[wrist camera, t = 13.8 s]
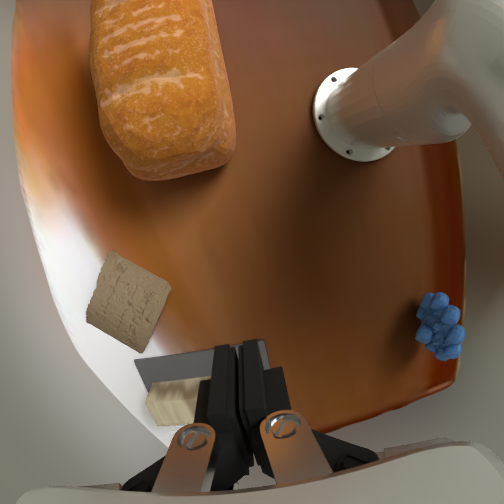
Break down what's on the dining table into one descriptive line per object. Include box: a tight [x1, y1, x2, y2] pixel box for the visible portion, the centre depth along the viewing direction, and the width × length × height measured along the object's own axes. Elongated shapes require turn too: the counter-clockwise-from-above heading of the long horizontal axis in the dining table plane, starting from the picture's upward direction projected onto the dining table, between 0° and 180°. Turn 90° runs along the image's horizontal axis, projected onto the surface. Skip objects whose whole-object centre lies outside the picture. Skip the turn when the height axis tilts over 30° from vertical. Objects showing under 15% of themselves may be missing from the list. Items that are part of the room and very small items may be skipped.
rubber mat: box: [134, 339, 270, 393], centre depth 46 cm, size 20×14×1 cm
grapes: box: [415, 292, 465, 361], centre depth 39 cm, size 12×7×12 cm, turn 18°
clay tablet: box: [86, 250, 172, 353], centre depth 41 cm, size 14×10×3 cm
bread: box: [89, 0, 236, 181], centre depth 27 cm, size 14×26×15 cm, turn 11°
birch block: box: [146, 376, 211, 426], centre depth 43 cm, size 5×5×12 cm
